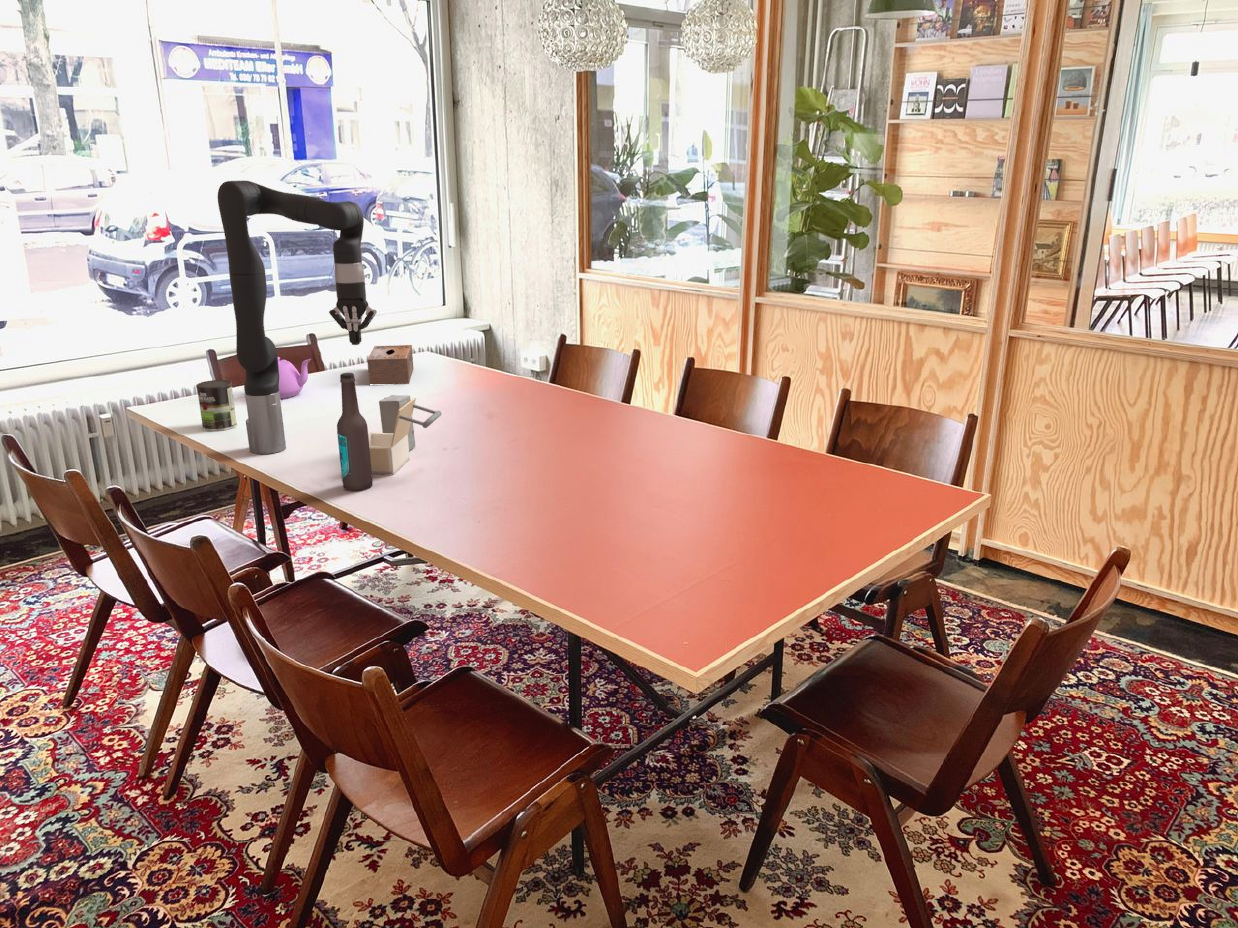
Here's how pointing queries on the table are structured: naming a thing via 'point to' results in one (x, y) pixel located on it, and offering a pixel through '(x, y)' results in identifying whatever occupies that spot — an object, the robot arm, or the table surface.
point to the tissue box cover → (390, 364)
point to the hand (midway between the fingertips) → (356, 344)
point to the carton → (387, 453)
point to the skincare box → (394, 415)
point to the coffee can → (216, 405)
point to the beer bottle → (353, 440)
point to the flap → (410, 420)
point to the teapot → (291, 378)
